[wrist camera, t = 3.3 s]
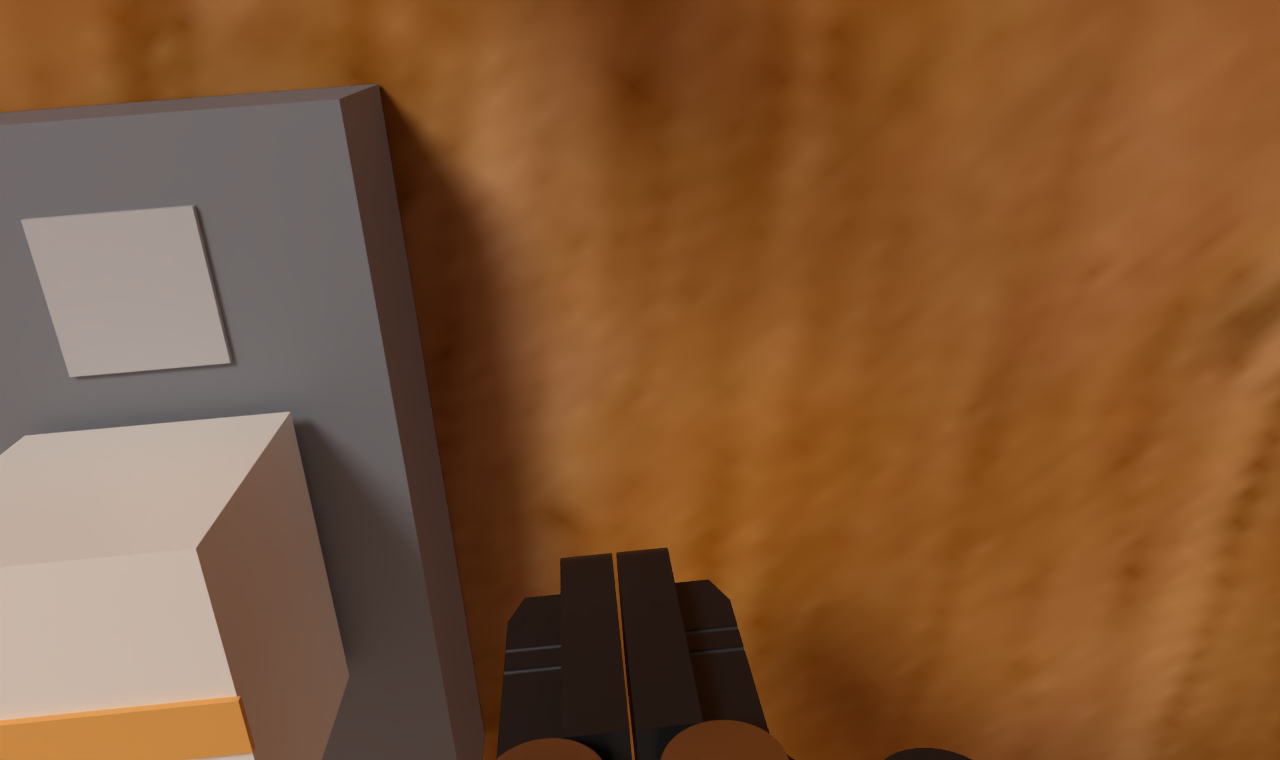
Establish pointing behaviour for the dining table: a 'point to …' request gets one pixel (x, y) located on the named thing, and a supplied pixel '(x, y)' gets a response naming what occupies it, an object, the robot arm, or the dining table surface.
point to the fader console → (253, 349)
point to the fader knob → (164, 596)
